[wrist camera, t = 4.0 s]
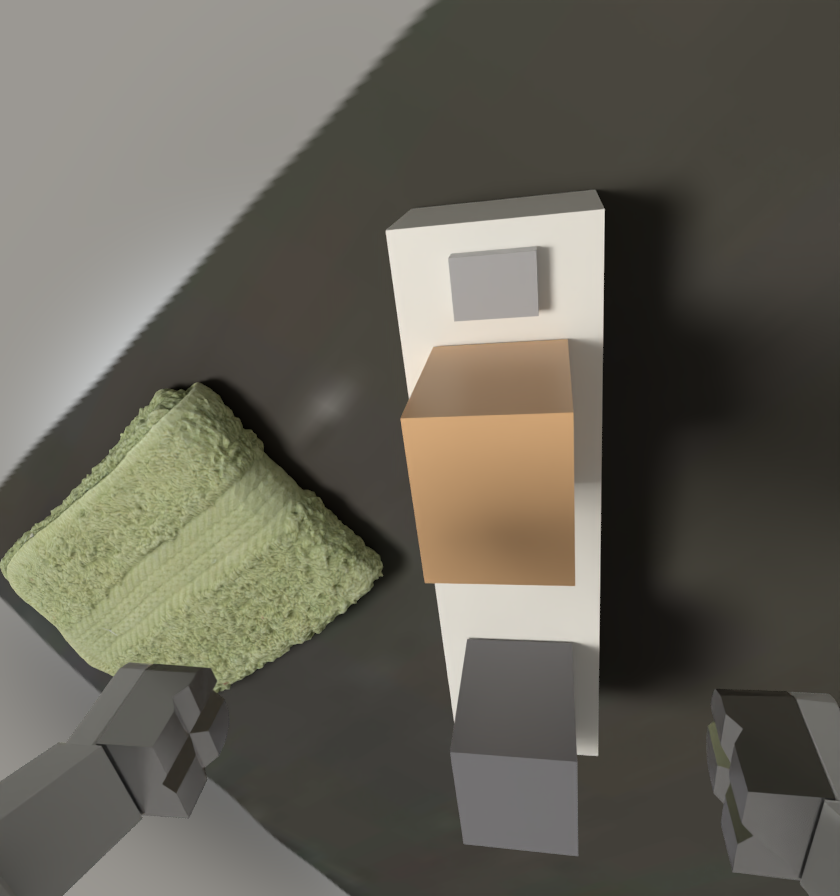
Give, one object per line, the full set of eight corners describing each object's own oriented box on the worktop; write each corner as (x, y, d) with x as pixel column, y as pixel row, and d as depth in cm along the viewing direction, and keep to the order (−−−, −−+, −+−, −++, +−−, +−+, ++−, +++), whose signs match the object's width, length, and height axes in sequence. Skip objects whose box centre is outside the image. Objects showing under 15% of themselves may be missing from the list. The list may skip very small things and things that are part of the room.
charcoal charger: (571, 691, 28) (578, 856, 22) (481, 686, 29) (463, 843, 23) (570, 605, 26) (577, 761, 20) (472, 602, 27) (449, 752, 21)
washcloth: (7, 550, 34) (-42, 590, 31) (197, 352, 26) (156, 382, 24) (192, 699, 37) (164, 748, 35) (410, 562, 30) (396, 610, 27)
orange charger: (568, 454, 23) (575, 586, 17) (457, 456, 24) (425, 582, 18) (566, 317, 21) (573, 412, 14) (442, 325, 21) (400, 418, 15)
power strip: (592, 681, 31) (598, 769, 27) (467, 674, 32) (455, 757, 28) (595, 189, 20) (606, 212, 16) (411, 208, 22) (380, 234, 18)
